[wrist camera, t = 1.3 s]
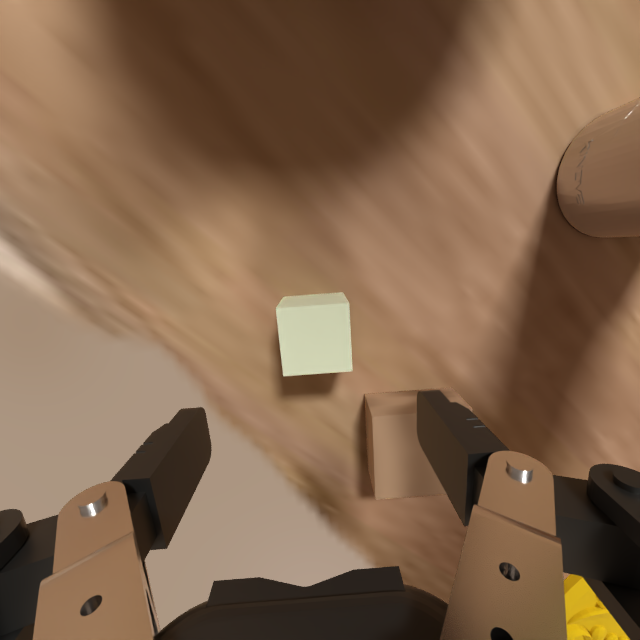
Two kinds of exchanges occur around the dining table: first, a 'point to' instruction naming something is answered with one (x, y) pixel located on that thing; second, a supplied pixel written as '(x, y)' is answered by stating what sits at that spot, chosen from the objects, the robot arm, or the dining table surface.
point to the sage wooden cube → (314, 334)
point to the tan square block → (399, 445)
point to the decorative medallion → (588, 613)
